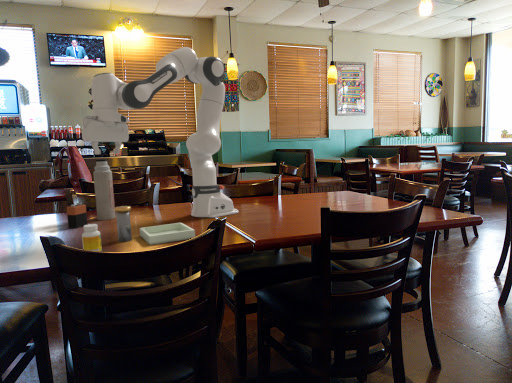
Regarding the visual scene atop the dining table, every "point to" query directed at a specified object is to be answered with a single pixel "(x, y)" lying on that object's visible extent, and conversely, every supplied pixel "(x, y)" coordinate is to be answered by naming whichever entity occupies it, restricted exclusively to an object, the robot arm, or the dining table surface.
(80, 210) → the battery
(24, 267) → the dining table surface
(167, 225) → the tray
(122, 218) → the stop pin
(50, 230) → the dining table surface
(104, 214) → the thermos bottle
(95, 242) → the supplement bottle
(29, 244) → the dining table surface
